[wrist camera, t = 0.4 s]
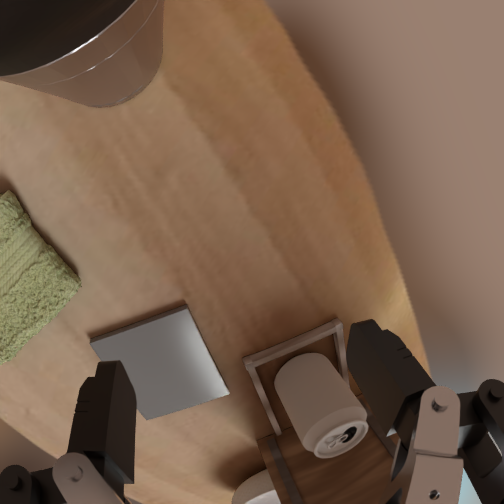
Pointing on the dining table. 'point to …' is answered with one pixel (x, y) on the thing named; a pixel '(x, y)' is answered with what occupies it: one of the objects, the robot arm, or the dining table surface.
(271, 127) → the dining table surface
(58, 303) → the washcloth
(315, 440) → the can
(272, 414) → the wooden stand
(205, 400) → the slate board
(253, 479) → the cereal bowl
